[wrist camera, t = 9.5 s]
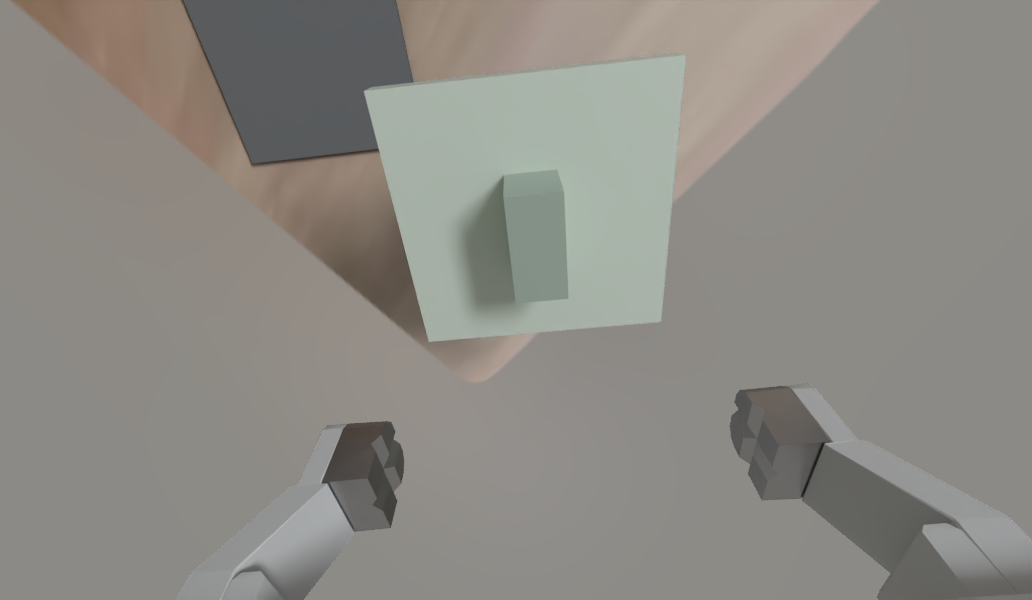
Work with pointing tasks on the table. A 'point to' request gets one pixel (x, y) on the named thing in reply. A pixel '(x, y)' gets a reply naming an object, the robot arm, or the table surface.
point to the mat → (301, 70)
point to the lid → (534, 193)
